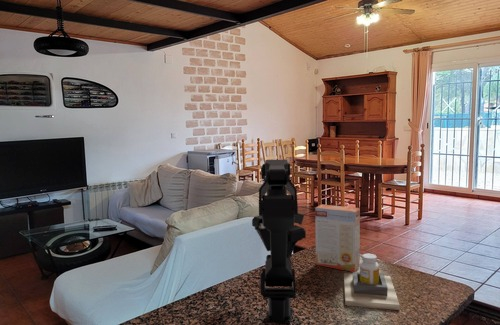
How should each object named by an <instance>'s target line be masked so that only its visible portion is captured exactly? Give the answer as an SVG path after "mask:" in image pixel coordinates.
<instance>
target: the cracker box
mask: <svg viewBox="0 0 500 325" xmlns="http://www.w3.org/2000/svg"><path fill="white" fill-rule="evenodd" d="M360 209H361V208H360V207H351V206H342V205H332V204H331V205H330V204H320V205H318V206H316V207H315V210H314V211H315V218H314V219H315V225H314V226H315V265H316V266H320V267H326V268H332V269H336V270H341V271H347V272H351V273H353V272H357V270H358V269H360V263H361V260H360V259H361V258H360V256H361V255H360V252H361V251H360V250H361V248H360V247H361V244H360V243H361V241H360V240H361V237H360V235H361V232H360V231H361V230H360V229H361V225H360V224H361V219H360V218H361V217H360V216H361V210H360Z"/></svg>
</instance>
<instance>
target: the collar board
mask: <svg viewBox="0 0 500 325" xmlns="http://www.w3.org/2000/svg"><path fill="white" fill-rule="evenodd" d="M391 278H392V277H391V275H385V274H384V273H379V285H372V284H360V271H359V272H358V271H355V272H351V273H348V272H344V273H343V283H344V284H343V287H344V300H345V302H344V303H345V304H344V305H345V306H346V305H347V306H348V307H360V308H372V309H383V310H396V311H400V309H401V308H400V302H399V300H398V296H397V293H396V290H395V287H394V284H393V281H392V279H391Z"/></svg>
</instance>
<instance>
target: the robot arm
mask: <svg viewBox="0 0 500 325" xmlns="http://www.w3.org/2000/svg"><path fill="white" fill-rule="evenodd" d="M260 177H261V180H263V183H262V184H261V186H260V187H259V189H258V215H256V216H253V218H252V220H251V222H252V223H251V226H252V227H254V230H255V231H256V233H257V234H258V236H259V237H260V240H261V242H262V243H263V245H264V248H265V249H266V251H267V252H270V254H267V255H266V257H265V258H266V260H265V261H264V262H265V265H264V266H265V267H264V268H262V271H261V273H259V274H260V276H259V277H260V279H259V280H260V283H259V284H260V287H259V289H260V291H259V292H260V293H259V294H260V296H262V299H267V302H268V307H267V308H268V309H267V313H266V316H265V319H264V320H265V322H266V323H274V324H275V323H276V324H286V325H291V323H292V318H293V315H294V309H292V308H291V299H296V298H297V297H296V293H297V292H296V274H295V272H296V271H295V268H293V265H292V263H293V262H292V259H291V257H292V255H293V252H294V249H295V246H296V244H297V243H298V242H300V241H302V240H303V239H306V238H307V231H306V229H305V228H304V227H301V226H302V225H303V222H304V221H303V220H304V218H305V217H304V216H305V214H304V213H300V212H299V209H298V208H299V205H298V192H297V191H298V190H297V187H296V186H295V185H294V183H292V182H291V163H288V159H265V161H264V163H262V166H261V167H260ZM288 193H289V194H288ZM296 224H298V225H296ZM299 225H300V226H299Z"/></svg>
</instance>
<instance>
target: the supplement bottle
mask: <svg viewBox="0 0 500 325" xmlns="http://www.w3.org/2000/svg"><path fill="white" fill-rule="evenodd" d="M361 258H362V261H360V267H359V272H360V284H372V285H379V274H380V264H379V263H378V262H377V261H378V256H377V255H376V254H375V253H374V254H373V253H368V252H367V253H363V254H362V255H361Z"/></svg>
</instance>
